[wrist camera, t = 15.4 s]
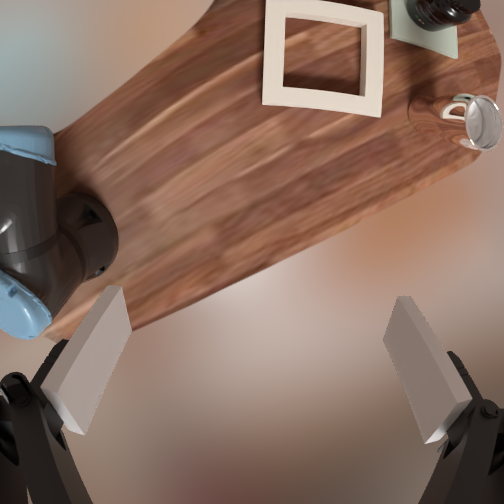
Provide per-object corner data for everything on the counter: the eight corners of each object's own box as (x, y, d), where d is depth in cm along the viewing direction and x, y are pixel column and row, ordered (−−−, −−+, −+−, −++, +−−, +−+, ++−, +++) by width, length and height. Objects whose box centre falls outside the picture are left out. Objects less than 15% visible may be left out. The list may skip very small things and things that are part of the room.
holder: (262, 104, 38) (262, 104, 36) (265, 1, 31) (266, -5, 29) (374, 116, 38) (380, 117, 36) (377, 17, 31) (383, 13, 29)
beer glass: (438, 141, 39) (499, 160, 25) (402, 130, 38) (459, 143, 25) (444, 100, 36) (507, 106, 22) (408, 86, 35) (467, 84, 22)
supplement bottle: (419, -12, 27) (459, -35, 16) (448, 20, 28) (494, 6, 18) (396, 7, 29) (436, -17, 18) (428, 40, 31) (474, 28, 20)
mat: (389, 37, 32) (392, 36, 31) (386, -26, 27) (388, -28, 26) (454, 58, 32) (457, 58, 31) (450, -2, 27) (453, -3, 26)
